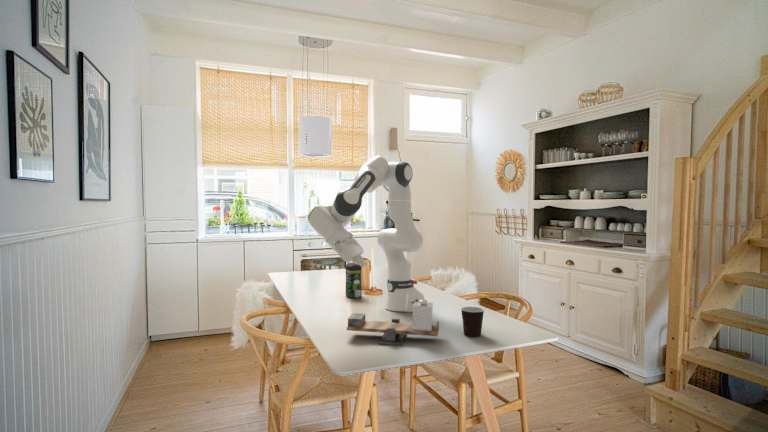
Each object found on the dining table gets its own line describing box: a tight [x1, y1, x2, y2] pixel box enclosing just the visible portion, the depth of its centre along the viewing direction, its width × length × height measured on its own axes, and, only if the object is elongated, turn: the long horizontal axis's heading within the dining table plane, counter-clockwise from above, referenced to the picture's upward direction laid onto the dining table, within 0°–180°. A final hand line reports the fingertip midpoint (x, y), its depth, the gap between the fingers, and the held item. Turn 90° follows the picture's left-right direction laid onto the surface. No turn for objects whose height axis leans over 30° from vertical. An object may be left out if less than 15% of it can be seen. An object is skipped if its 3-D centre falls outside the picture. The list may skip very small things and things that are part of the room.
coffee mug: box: [461, 306, 485, 338], centre depth 164 cm, size 12×9×10 cm
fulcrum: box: [379, 318, 406, 347], centre depth 159 cm, size 8×16×6 cm, turn 171°
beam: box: [346, 312, 440, 337], centre depth 159 cm, size 34×10×4 cm, turn 81°
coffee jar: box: [345, 262, 363, 299], centre depth 230 cm, size 10×8×19 cm
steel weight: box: [411, 299, 434, 332], centre depth 156 cm, size 7×7×10 cm
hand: (364, 265), depth 161 cm, fingers closed
